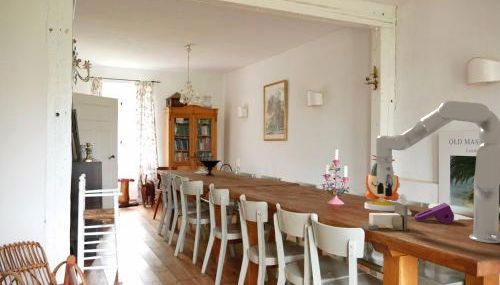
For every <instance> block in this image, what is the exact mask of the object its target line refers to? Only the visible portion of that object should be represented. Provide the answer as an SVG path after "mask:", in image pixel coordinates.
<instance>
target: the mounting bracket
mask: <svg viewBox="0 0 500 285" xmlns="http://www.w3.org/2000/svg"><path fill="white" fill-rule="evenodd" d="M453 213H454V212H453V210H452V208H451V206H450V205H449V204H447V203H446V202H443V203H439V204H438V205H436V206H433V207H430V208H427V209H424V210H423V211H420V212H418V213H417V214H415V215H414V216H413V218H414V221H416V220H417V221H416V222H421V221H424V220H427V219H429V218H432V217H434V218H435V219H436V220H438V222H440V223H441V224H447V225H449V224H451V223H452V222H453V221H455V220H454V214H453Z"/></svg>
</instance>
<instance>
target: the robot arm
mask: <svg viewBox="0 0 500 285" xmlns="http://www.w3.org/2000/svg"><path fill="white" fill-rule="evenodd" d="M453 121H459V122H466V123H468V122H469V123H473V124H475V125H476V126H477V127H478V143H477V145H478V146H477V150H476V154H475V155H476V157H475V159H476V160H475V169H474V170H475V171H474V176H473V218H472V219H473V221H472V223H473V226H472V227H473V229H472V232H473V234H469V236H468V238H469V239H470V240H472V241H476V242H479V243H480V242H481V243H489V244H500V231H499V217H500V214H499V213H500V212H499V211H500V210H499V206H500V119H499V118H498V116H497V115H496V113H494V112H493V111H491V110H490V109H489V108H488V106H487V105H485V104H484V103H480V102H472V101H471V102H469V101H459V100H445V101H444V102H442V103H441V104H440V106H439V107H437V108H435V109H434V110H433V111H431V112H430V113H428V114H426V115H425V116H423V117H421V119H419V120H418V121H417V122H416V124H415V125H413V126H412V127H411V128H410V129H408V130H407V131H405V132H403V133H402V134H396V135H395V134H394V135H378V136H377V137H376V140H375V143H376V144H375V145H376V146H375V148H376V149H375V150H376V151H375V153H376V154H375V156H376V157H375V159H376V160H375V162H376V163H377V177H376V178H377V194H384V186H383V184H385V186H386V188H385V196H392V185H393V182H394V179H393V174H394V173H393V172H394V167H393V161H392V159H393V157H392V156H393V151H406V150H408V149H409V148H411V147H412V146H414V145H416V144H418V143H419V142H420V141H422V140H423V139H425V138H427V137H430V135H432V134H433V133H435V132H437V131H438V130H441V128H444V127H445V126H446V125H448V124H450V123H451V122H453ZM387 184H388V185H387Z"/></svg>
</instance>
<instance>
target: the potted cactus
mask: <svg viewBox="0 0 500 285" xmlns="http://www.w3.org/2000/svg"><path fill="white" fill-rule="evenodd" d="M372 157H374V158H371V160H373V161H374V162H375V163H373V165H372V167H371V170H370V171H369V172H370V173H369V174H367V175H366V178H365V181H364V182H363V185H364V187H366V189H367V191H366V192H365V198H366V199H367V200H368V201H365V202H364V209H367V210H372V211H378V212H379V211H380V212H381V211H382V212H394V211H395V202H397V201H399V198H398V197H399V195H400V194H399V193H398V192H397V191H399V190H398V189H399V188H400V187H401V186H400V185H401V184H400V182H399V176H398V175H395V171H393V179H394V182H393V185H392V196H385V188H386V186H385V184H383V186H384V194H377V178H376V177H377V163H376V155H373V154H372ZM395 161H396V159H395V158H394V159H393V155H392V162H395ZM387 185H388V184H387ZM372 200H374V201H372ZM391 201H392V202H391Z"/></svg>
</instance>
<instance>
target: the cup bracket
mask: <svg viewBox="0 0 500 285" xmlns="http://www.w3.org/2000/svg"><path fill="white" fill-rule="evenodd" d="M394 203H395V211H393V213H397V214H400V215H401V217H392V225H384V227H386V228H388V229H390V230H391V231H404V230H407V231H408V215H407V212H408V210H409V208H408V205H407V204H406V205H404V204H401V203H399V202H397V201H394Z"/></svg>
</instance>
